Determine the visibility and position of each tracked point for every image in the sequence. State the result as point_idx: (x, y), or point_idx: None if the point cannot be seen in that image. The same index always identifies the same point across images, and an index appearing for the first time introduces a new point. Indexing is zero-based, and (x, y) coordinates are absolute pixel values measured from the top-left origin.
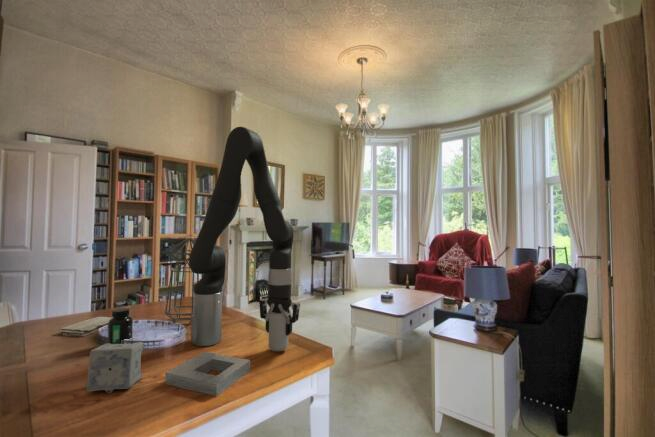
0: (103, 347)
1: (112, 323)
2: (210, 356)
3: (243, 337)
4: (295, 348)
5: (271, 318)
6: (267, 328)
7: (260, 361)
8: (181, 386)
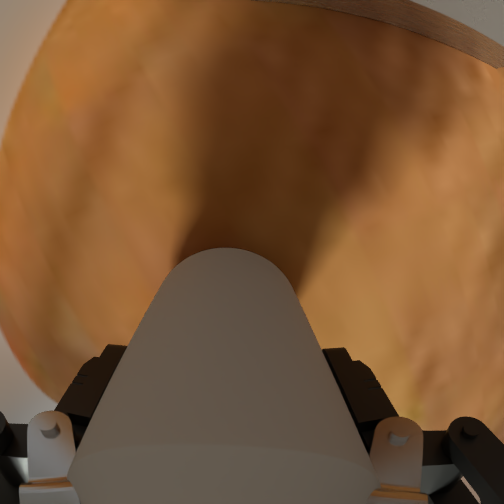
0: None
1: None
2: (477, 4)
3: (466, 362)
4: None
5: (293, 438)
6: (347, 367)
7: (257, 114)
8: None
